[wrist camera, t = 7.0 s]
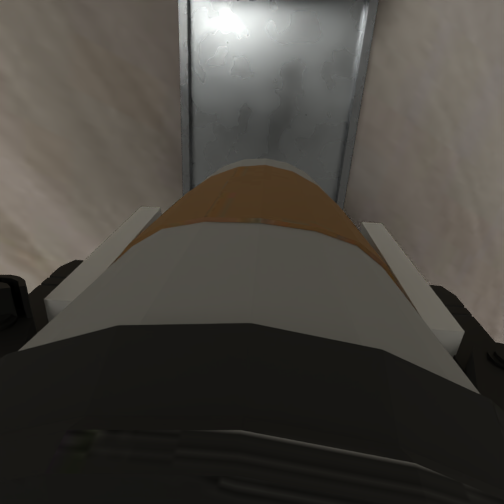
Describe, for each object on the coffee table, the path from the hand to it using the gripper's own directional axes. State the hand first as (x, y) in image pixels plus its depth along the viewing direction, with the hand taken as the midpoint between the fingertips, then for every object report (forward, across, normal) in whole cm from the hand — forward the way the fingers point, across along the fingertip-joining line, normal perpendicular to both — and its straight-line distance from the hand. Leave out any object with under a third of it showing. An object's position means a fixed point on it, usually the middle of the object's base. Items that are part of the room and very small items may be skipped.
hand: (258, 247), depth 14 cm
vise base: (+20, 0, +4) cm, 20 cm away
